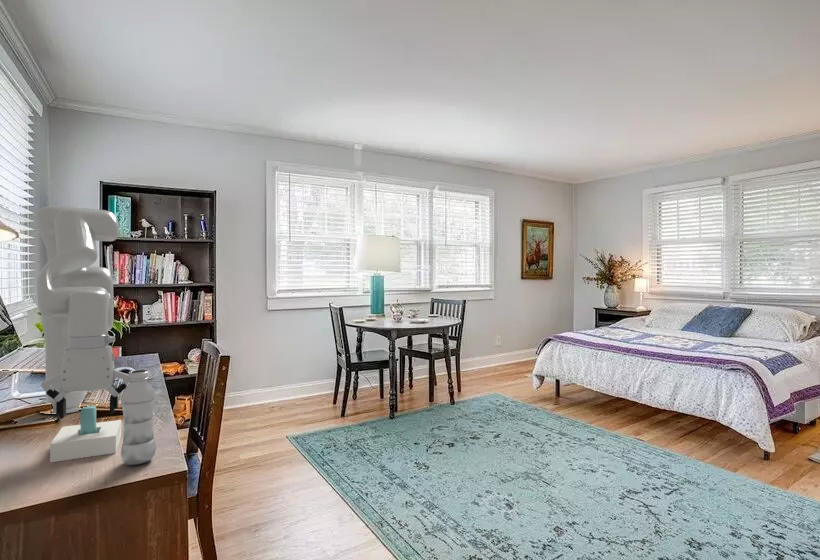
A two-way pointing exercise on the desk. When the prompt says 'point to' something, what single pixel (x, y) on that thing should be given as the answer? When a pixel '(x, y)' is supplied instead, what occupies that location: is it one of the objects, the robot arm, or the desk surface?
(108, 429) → the hole block
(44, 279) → the robot arm
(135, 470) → the desk surface
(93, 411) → the peg
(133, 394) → the plastic bottle
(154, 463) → the desk surface
